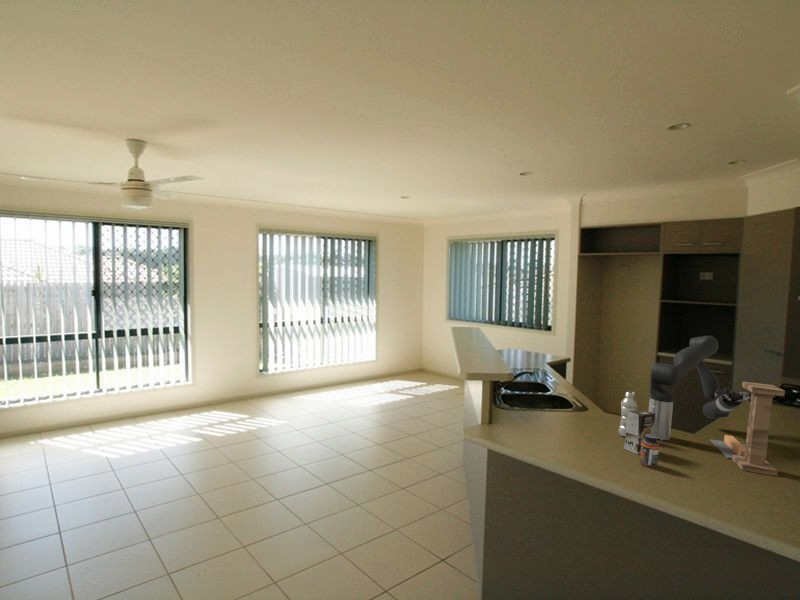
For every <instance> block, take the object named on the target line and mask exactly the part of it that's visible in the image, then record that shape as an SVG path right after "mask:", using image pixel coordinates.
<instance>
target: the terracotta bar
mask: <svg viewBox="0 0 800 600" xmlns="http://www.w3.org/2000/svg"><path fill="white" fill-rule="evenodd" d="M723 441H724V442H725V443H726V444H727V445H728V446H729V447H730V448H731V449H732V450H733V451H734V452H735V453H736V454H737V455H738V456H744V457H745V447H744V446H743V445H742V444H743V443H741V442H740V441H738V439H736V437H735V436H733V435H730V434H729V435H728V434H725V435H724V439H723Z"/></svg>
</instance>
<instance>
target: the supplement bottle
mask: <svg viewBox="0 0 800 600" xmlns="http://www.w3.org/2000/svg"><path fill="white" fill-rule="evenodd" d="M659 452H660V443H659V442H658V440H657V437H656V436H654V435H651V434H646V435H645V439H644V440H642V443H641V453H640V454H639V463H640V465H641V466H643V467H647V468H650V469H651V468H652V469H653V468H657V467H658V463H659V462H658V461H659Z"/></svg>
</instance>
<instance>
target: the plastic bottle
mask: <svg viewBox="0 0 800 600" xmlns="http://www.w3.org/2000/svg"><path fill="white" fill-rule="evenodd" d="M635 398H636V392H634V391H627V390H626V391H625V397H624V398H623V399H622V400H621V401H620V409H621V414H620V415H621V417H620V424H619V426H618V434H619V435H620V436H622V437H624V438H625V436H626V426H627V417H628V411H634V410H638V403H637V400H636V399H635Z"/></svg>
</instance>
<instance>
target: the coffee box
mask: <svg viewBox="0 0 800 600" xmlns="http://www.w3.org/2000/svg"><path fill="white" fill-rule="evenodd" d="M648 411H649V410H645V409H637V410H634V411H628V417H627V426H626V436H625V437H624V447H623V449H624V450H626V451H629V452H630V453H633V454H635V455H640V453H641V443H642V440H644V439H645V435H646V434H651V435H653V431H654V421H655V413H652V412H648Z"/></svg>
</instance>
